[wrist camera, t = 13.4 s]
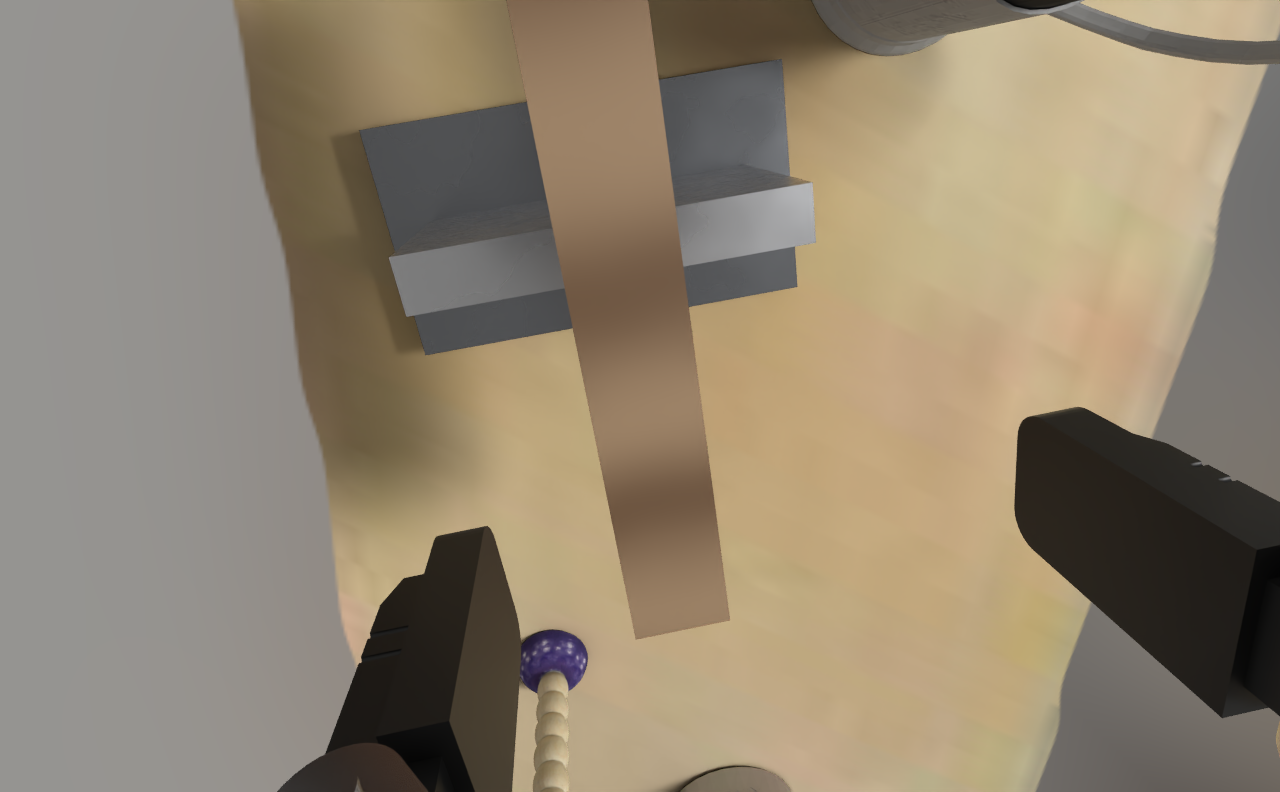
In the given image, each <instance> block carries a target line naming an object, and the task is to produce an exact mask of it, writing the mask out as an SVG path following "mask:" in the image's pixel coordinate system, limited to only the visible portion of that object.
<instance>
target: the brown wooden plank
mask: <svg viewBox="0 0 1280 792" xmlns="http://www.w3.org/2000/svg"><path fill="white" fill-rule="evenodd" d="M506 1H507V6H508V11H509V16H510V21H511V26H512V31H513V36H514V40H515V45H516V50H517V55H518V60H519V65H520V70H521V75H522V80H523V85H524V90H525V95H526V100H527V105H528V110H529V114H530V119H531V124H532V129H533V134H534V139H535V144H536V149H537V154H538V159H539V164H540V169H541V174H542V179H543V184H544V188H545V193H546V198H547V203H548V208H549V213H550V218H551V223H552V228H553V233H554V238H555V243H556V248H557V253H558V258H559V262H560V267H561V272H562V277H563V282H564V287H565V292H566V297H567V302H568V307H569V312H570V317H571V322H572V327H573V332H574V337H575V341H576V346H577V351H578V356H579V361H580V366H581V371H582V376H583V381H584V386H585V391H586V396H587V401H588V406H589V411H590V415H591V420H592V425H593V430H594V435H595V440H596V445H597V450H598V455H599V460H600V465H601V470H602V475H603V480H604V485H605V489H606V494H607V499H608V504H609V509H610V514H611V519H612V524H613V529H614V534H615V539H616V544H617V549H618V554H619V559H620V564H621V568H622V573H623V578H624V583H625V588H626V593H627V598H628V603H629V608H630V613H631V618H632V623H633V628H634V633H635V638H636V639H641V638H646V637H651V636H656V635H661V634H665V633H670V632H675V631H680V630H685V629H690V628H695V627H700V626H705V625H709V624H714V623H719V622H724V621H729V620H730V616H729V609H728V601H727V593H726V586H725V578H724V571H723V563H722V556H721V548H720V541H719V533H718V525H717V518H716V510H715V503H714V495H713V488H712V480H711V472H710V465H709V457H708V450H707V442H706V435H705V427H704V419H703V412H702V404H701V397H700V389H699V382H698V374H697V366H696V359H695V351H694V344H693V336H692V329H691V321H690V313H689V306H688V298H687V291H686V283H685V276H684V268H683V261H682V253H681V245H680V238H679V230H678V223H677V215H676V208H675V200H674V192H673V185H672V177H671V170H670V162H669V155H668V147H667V139H666V132H665V124H664V117H663V109H662V102H661V94H660V86H659V79H658V71H657V64H656V56H655V49H654V41H653V33H652V26H651V18H650V11H649V3H648V0H506Z"/></svg>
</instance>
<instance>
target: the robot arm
mask: <svg viewBox="0 0 1280 792" xmlns="http://www.w3.org/2000/svg"><path fill="white" fill-rule="evenodd" d="M1014 506H1015V517H1016V521H1017V524H1018V527H1019V529H1020V532H1021V534H1022V536H1023V538H1024V539H1025V541H1026V542H1027V543H1028V545H1029V546H1030V547H1031V548H1032V549H1033V550H1034V551H1035V552H1036V553H1037V554H1038V555H1040V556H1041V557H1042V558H1043V559H1044V560H1045V561H1046V562H1047V563H1049V564H1050V565H1051V566H1052V567H1053V568H1054V569H1055V570H1056V571H1058V572H1059V573H1060V574H1061V575H1062V576H1063V577H1064V578H1065V579H1066V580H1068V581H1069V582H1070V583H1071V584H1072V585H1073V586H1074V587H1075V588H1077V589H1078V590H1079V591H1080V592H1081V593H1082V594H1083V595H1084V596H1086V597H1087V598H1088V599H1089V600H1090V601H1091V602H1092V603H1093V604H1095V605H1096V606H1097V607H1098V608H1099V609H1100V610H1101V611H1102V612H1104V613H1105V614H1106V615H1107V616H1108V617H1109V618H1110V619H1111V620H1113V621H1114V622H1115V623H1116V624H1117V625H1118V626H1119V627H1120V628H1122V629H1123V630H1124V631H1125V632H1126V633H1127V634H1128V635H1129V636H1130V637H1132V638H1133V639H1134V640H1135V641H1136V642H1137V643H1138V644H1140V645H1141V646H1142V647H1143V648H1144V649H1145V650H1146V651H1147V652H1149V653H1150V654H1151V655H1152V656H1153V657H1154V658H1155V659H1156V660H1157V661H1159V662H1160V663H1161V664H1162V665H1163V666H1164V667H1165V668H1167V669H1168V670H1169V671H1170V672H1171V673H1172V674H1173V675H1174V676H1175V677H1177V678H1178V679H1179V680H1180V681H1181V682H1182V683H1183V684H1185V685H1186V686H1187V687H1188V688H1189V689H1190V690H1191V691H1192V692H1193V693H1194V694H1196V695H1197V696H1198V697H1199V698H1200V699H1201V700H1202V701H1203V702H1205V703H1206V704H1207V705H1208V706H1209V707H1210V708H1212V709H1213V710H1214V711H1215V712H1216V713H1217V714H1218V715H1219V716H1220V717H1221V718H1224V717H1229V716H1233V715H1238V714H1242V713H1247V712H1251V711H1255V710H1260V709H1264V708H1270V709H1272V710H1273V711H1274V712H1275V713H1277V714H1278V715H1279V716H1280V502H1278V501H1277V500H1274V499H1273V498H1271V497H1269V496H1267V495H1265V494H1263V493H1261V492H1259V491H1257V490H1255V489H1253V488H1252V487H1250V486H1248V485H1246V484H1244V483H1242V482H1240V481H1238V480H1236V481H1232V480H1231V479H1230V476H1229V475H1227V474H1224V473H1223V472H1221V471H1219V470H1217V469H1215V468H1213V467H1211V466H1209V465H1205V466H1203V465H1202V463H1201V461H1199V460H1198V459H1196V458H1194V457H1192V456H1190V455H1188V454H1186V453H1184V452H1182V451H1181V450H1179V449H1177V448H1175V447H1173V446H1171V445H1169V444H1167V443H1164V442H1160V441H1157V440H1153V439H1150V438H1146V437H1143V436H1139V435H1136V434H1133V433H1131V432H1129V431H1127V430H1125V429H1123V428H1121V427H1119V426H1117V425H1116V424H1114V423H1112V422H1110V421H1108V420H1106V419H1104V418H1102V417H1101V416H1099V415H1097V414H1095V413H1093V412H1091V411H1089V410H1087V409H1085V408H1082V407H1074V408H1069V409H1064V410H1059V411H1054V412H1050V413H1045V414H1040V415H1035V416H1030V417H1027V418H1025V419H1024V420H1023V421H1022V423H1021V424H1020V427H1019V430H1018V440H1017V461H1016V483H1015V505H1014ZM370 636H371V638H370V639H368V640H367V643H366V645H365V648H364V651H363V653H362V656H361V659H362V663H359V664H358V667H357V670H356V672H355V676H354V678H353V680H352V683H351V686H350V689H349V691H348V694H347V697H346V699H345V702H344V705H343V708H342V710H341V713H340V716H339V719H338V721H337V724H336V727H335V729H334V732H333V735H332V737H331V740H330V743H329V745H328V748H327V751H326V753H325V755H323V756H321V757H319V758H317V759H316V760H314V761H312V762H311V763H309V764H308V765H306V766H305V767H304V768H302V769H301V770H300V771H298V772H297V773H296V774H294V775H293V776H292V777H291V778H290V779H289V780H288V781H287V782H286V783H285V784H284V785H283V786H282V787H281V788H280V789H279V790H278V791H277V792H512V781H513V767H514V752H515V738H516V723H517V709H518V694H519V680H520V665H521V638H520V630H519V623H518V618H517V614H516V610H515V606H514V603H513V599H512V596H511V593H510V589H509V586H508V582H507V579H506V575H505V572H504V569H503V565H502V562H501V558H500V555H499V552H498V548H497V545H496V541H495V538H494V535H493V533H492V531H491V529H490V528H489V527H488V526H484V527H479V528H475V529H470V530H465V531H460V532H455V533H450V534H445V535H440V536H437V537H436V538H435V540H434V542H433V546H432V549H431V553H430V556H429V559H428V563H427V566H426V569H425V573H424V574H422V575H417V576H413V577H408V578H404V579H403V580H402V581H401V582H400V583H399V584H398V586H397V587H396V588H395V589H394V590H393V591H392V592H391V594H390V595H389V596H388V597H387V598H386V599H385V600H384V602H383V603H382V604H381V605H380V607H379V610H378V613H377V616H376V618H375V621H374V624H373V626H372V629H371V632H370ZM1276 743H1277V748H1278V752H1279V756H1280V722H1279V726H1278V730H1277V734H1276ZM680 792H791V789H790V788H789V786H788V785H787V784H786V783H785V782H784V780H782V779H781V778H779V777H778V776H777V775H775V774H773V773H771V772H768V771H766V770H763V769H758V768H752V767H733V768H726V769H721V770H718V771H714V772H711V773H708V774H706V775H704V776H702V777H700V778H698V779H696V780H694V781H693V782H691V783H690V784H688V785H687V786H685V787H684V788H683V789H682V790H681V791H680Z"/></svg>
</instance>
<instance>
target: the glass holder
mask: <svg viewBox="0 0 1280 792" xmlns="http://www.w3.org/2000/svg"><path fill="white" fill-rule="evenodd" d="M1082 1H1084V0H812V2H813V4H814V6H815V8H816V10H817V12H818V14H819V16H820V17H821V18H822V20H823V21H824V23H825V24H826V25H827V27H828V28H829V29H830V30H831V31H832V32H833V33H834V34H835V35H836V36H837V37H839V38H840V39H841V40H842V41H844V42H845V43H847V44H849V45H850V46H852V47H854V48H855V49H858V50H861V51H864V52H866V53H869V54H875V55H882V56H894V55H904V54H908V53H911V52H915V51H919V50H921V49H923V48H925V47H927V46H929V45H931V44H934V43H936V42H937V41H939V40H940V39H942V38H943V37H944V36H946V35H947V34H952V33H956V32H961V31H966V30H971V29H976V28H981V27H986V26H990V25H995V24H1000V23H1005V22H1010V21H1015V20H1020V19H1025V18H1029V17H1034V16H1039V15H1044V14H1048V15H1050V16H1053V17H1055V18H1058V19H1060V20H1063V21H1065V22H1068V23H1070V24H1073V25H1075V26H1078V27H1080V28H1083V29H1086V30H1089V31H1091V32H1094V33H1097V34H1100V35H1102V36H1105V37H1108V38H1110V39H1113V40H1116V41H1118V42H1121V43H1124V44H1127V45H1130V46H1133V47H1136V48H1139V49H1142V50H1146V51H1151V52H1156V53H1161V54H1165V55H1170V56H1175V57H1181V58H1187V59H1194V60H1200V61H1206V62H1217V63H1231V64H1245V65H1253V64H1280V41H1260V42H1253V41H1234V40H1217V39H1210V38H1204V37H1197V36H1190V35H1183V34H1178V33H1174V32H1169V31H1164V30H1159V29H1154V28H1151V27H1147V26H1144V25H1141V24H1138V23H1134V22H1131V21H1128V20H1125V19H1122V18H1119V17H1116V16H1113V15H1110V14H1107V13H1105V12H1102V11H1099V10H1096V9H1093V8H1091V7H1088V6H1086V5H1083V4H1081V3H1080V2H1082Z"/></svg>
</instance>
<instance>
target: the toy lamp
mask: <svg viewBox="0 0 1280 792" xmlns="http://www.w3.org/2000/svg"><path fill="white" fill-rule="evenodd" d="M587 661H588V654H587V651H586V648H585V646H584V644H583V643H582V642H581V640H580V639H578V638H577V637H576V636H574V635H572V634H570V633H567V632H564V631H559V630H547V631H543V632H539V633H537V634H534V635H533V636H531V637H530V638H528V639H527V640H526V641H525V642H524V643H523V644H522V645H521V665H520V677H521V679H522V681H523V682H524V684H525V685H526V686H527V687H528V688H529V689H530V690H532V691H534V692H535V693H537V694H538V699H539V702H538V705H537V711H536V715H537V720H538V724H537V726H536V730H535V740H536V744H537V747H536V749H535V753H534V767H535V770H536V774H535V776H534V780H533V792H568V790H569V776H568V772H567V770H566V768H567V765H568V761H569V751H568V747H567V744H566V743H567V741H568V737H569V727H568V723H567V721H566V720H567V717H568V711H569V708H568V702H567V700H566V699H567V696H568V691H569V690H571V689H572V688H574V687H575V686H576V685H577V684H578V682H580V680H581V678H582V677H583V675H584V672H585V670H586V666H587Z"/></svg>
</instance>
